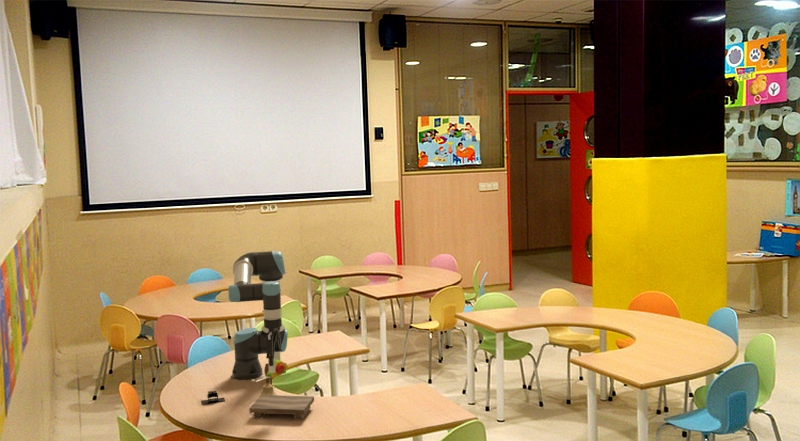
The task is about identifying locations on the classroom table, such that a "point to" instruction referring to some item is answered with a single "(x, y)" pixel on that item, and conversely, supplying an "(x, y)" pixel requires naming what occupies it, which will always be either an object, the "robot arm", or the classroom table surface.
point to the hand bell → (267, 384)
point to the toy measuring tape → (279, 370)
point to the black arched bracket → (214, 400)
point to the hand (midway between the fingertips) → (274, 369)
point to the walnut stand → (282, 405)
